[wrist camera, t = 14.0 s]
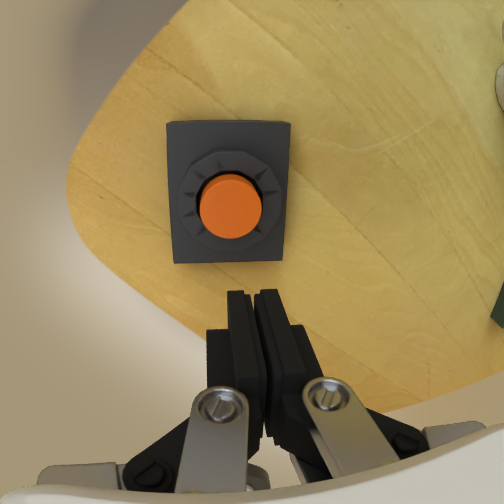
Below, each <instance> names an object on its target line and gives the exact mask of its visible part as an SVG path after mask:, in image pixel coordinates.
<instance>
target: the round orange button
mask: <svg viewBox="0 0 504 504" xmlns="http://www.w3.org/2000/svg"><path fill="white" fill-rule="evenodd" d="M261 211H262V206H261V201H260V198H259V196H258V194H257V192H256V190H255V188H254V186H253V185H252V184H251V183H250V182H249V181H248V180H247V179H245V178H244V177H242V176H239V175H234V174H225V175H221V176H218V177H216V178H214V179H213V180H211V181H210V182H209V183H208V184H207V185H206V187H205V188H204V190H203V192H202V195H201V201H200V216H201V220H202V222H203V224H204V226H205V227H206V228H207V229H208V230H209V231H210V232H211V233H213V234H214V235H216V236H218V237H222V238H227V239H233V238H239V237H242V236H244V235H246V234H248V233H249V232H250V231H252V230H253V229H254V228H255V226H256V225H257V223H258V222H259V219H260V216H261Z"/></svg>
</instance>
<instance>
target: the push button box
mask: <svg viewBox="0 0 504 504" xmlns="http://www.w3.org/2000/svg"><path fill="white" fill-rule="evenodd" d="M290 127H291V124H290V123H288V122H284V121H263V120H195V121H171V122H169V123H167V124H166V130H167V167H168V190H169V207H170V223H171V236H172V249H173V260H174V264H176V263H214V262H249V261H282V258H283V245H284V231H285V216H286V200H287V184H288V166H289V147H290ZM225 174H234V175H239V176H242V177H244V178H245V179H247V180H248V181H249V182H250V183H251V184H252V185H253V186H254V188H255V190H256V192H257V194H258V196H259V198H260V201H261V206H262V211H261V216H260V219H259V222H258V223H257V225H256V226H255V228H254V229H253V230H252V231H250V232H249V233H248V234H246V235H244V236H242V237H239V238H233V239H227V238H222V237H218V236H216V235H214V234H213V233H211V232H210V231H209V230H208V229H207V228H206V227H205V226H204V224H203V222H202V220H201V216H200V201H201V195H202V192H203V190H204V188H205V187H206V185H207V184H208V183H209V182H210V181H211V180H213V179H214V178H216V177H218V176H221V175H225Z"/></svg>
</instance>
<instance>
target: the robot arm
mask: <svg viewBox="0 0 504 504" xmlns="http://www.w3.org/2000/svg"><path fill="white" fill-rule="evenodd" d="M227 309H228V329H214V330H207V331H206V343H207V389H205V390H203V391H202V392H200V393H199V394H198V395H197V396H196V397H195V399H194V401H193V404H192V409H191V413H190V417H189V418H187V419H186V420H185V421H184V422H182V423H181V424H179V425H178V426H177V427H175V428H174V429H173V430H171V431H170V432H169V433H167V434H166V435H165V436H163V437H162V438H160V439H159V440H158V441H156V442H155V443H154V444H152V445H151V446H149V447H148V448H146V449H145V450H144V451H142V452H141V453H139V454H138V455H136V456H135V457H133V458H132V459H131V460H130V461H129V462H128V463H127V464H119V465H117V464H116V463H115V462H107V463H94V464H77V465H53V466H48V467H47V468H45V469H44V470H42V472H41V473H40V474H39V476H38V480H37V485H33V486H27V487H22V488H19V489H15V490H12V491H10V492H8V493H6V494H5V495H4V496H3V497H2V498H1V499H0V504H504V423H501V424H496V425H493V426H490V427H486V426H484V425H483V424H482V423H480V422H477V421H467V422H461V423H454V424H447V425H440V426H431V427H424V428H423V430H422V431H419V430H418V429H416V428H414V427H412V426H410V425H407V424H404V423H402V422H399V421H397V420H394V419H392V418H389V417H387V416H384V415H382V414H380V413H377V412H375V411H373V410H370V409H368V408H366V407H364V406H363V404H362V403H361V401H360V400H359V398H358V397H357V395H356V394H355V392H354V391H353V389H352V388H351V387H350V386H349V385H348V384H347V383H345V382H344V381H342V380H340V379H337V378H334V377H324V375H323V373H322V370H321V368H320V365H319V363H318V360H317V358H316V355H315V353H314V350H313V348H312V346H311V343H310V341H309V338H308V336H307V333H306V331H305V328H304V327H303V325H290V323H289V321H288V318H287V315H286V312H285V309H284V307H283V304H282V301H281V298H280V295H279V293H278V290H277V289H262V290H260V294H255V295H254V310H253V306H252V301H251V296H250V294H244V291H243V290H238V291H227ZM264 424H265V429H266V434H267V437H273V439H274V444H275V446H276V445H280V447H281V448H282V449H284V450H286V451H288V452H290V453H289V455H290V459H291V461H292V464H293V466H294V468H295V471H296V473H297V475H298V477H299V480H300V482H301V484H302V485H297V486H290V487H283V488H276V489H267V490H257V491H254V490H253V488H252V487H251V486H249V485H247V468H248V460H249V459H250V458H251V457H252V456H253V455H254V454H255V453H256V452H257V451H258V450H259V445H260V438H262V436H263V425H264Z"/></svg>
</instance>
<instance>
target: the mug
mask: <svg viewBox="0 0 504 504" xmlns="http://www.w3.org/2000/svg"><path fill="white" fill-rule="evenodd" d="M502 37H503V42H504V21H503V25H502ZM495 87H496V94H497V98H498V101H499V104H500V106H501V108H502V110H503V111H504V64H503V65H501V66H500V68H499V69H498V71H497V74H496V80H495Z"/></svg>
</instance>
